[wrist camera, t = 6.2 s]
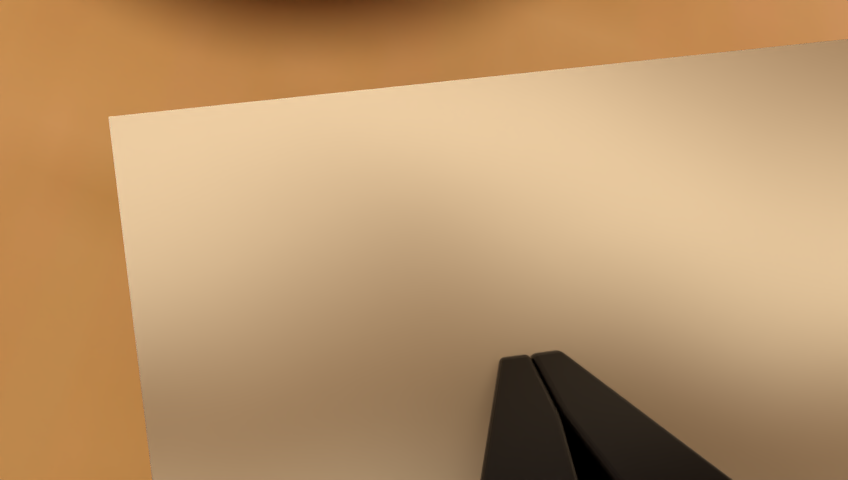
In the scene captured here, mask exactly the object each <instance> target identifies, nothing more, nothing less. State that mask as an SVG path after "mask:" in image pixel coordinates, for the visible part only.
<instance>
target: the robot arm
mask: <svg viewBox="0 0 848 480" xmlns="http://www.w3.org/2000/svg"><path fill="white" fill-rule="evenodd" d="M480 480H733V479H731V478H730V477H729V476H727V475H726V474H725V473H723V472H722V471H721V470H719V469H718V468H717V467H715V466H714V465H713V464H711V463H710V462H709V461H707V460H706V459H705V458H703V457H702V456H701V455H699V454H698V453H697V452H695V451H694V450H693V449H691V448H690V447H689V446H687V445H686V444H685V443H683V442H682V441H681V440H679V439H678V438H677V437H675V436H674V435H673V434H671V433H670V432H669V431H667V430H666V429H665V428H663V427H662V426H661V425H659V424H658V423H657V422H655V421H654V420H653V419H651V418H650V417H649V416H647V415H646V414H645V413H643V412H642V411H641V410H639V409H638V408H637V407H635V406H634V405H633V404H631V403H630V402H629V401H627V400H626V399H625V398H623V397H622V396H621V395H619V394H618V393H617V392H615V391H614V390H613V389H611V388H610V387H609V386H607V385H606V384H605V383H603V382H602V381H601V380H599V379H598V378H597V377H595V376H594V375H593V374H591V373H590V372H589V371H587V370H586V369H585V368H583V367H582V366H581V365H579V364H578V363H577V362H575V361H574V360H573V359H571V358H570V357H569V356H567V355H566V354H565V353H563V352H561V351H559V350H554V351H546V352H538V353H533V354H532V355H531V357H530V356H528V355H526V354H523V355H515V356H508V357H502V358H501V359H500V360H499V365H498V371H497V377H496V384H495V390H494V396H493V402H492V409H491V415H490V421H489V428H488V434H487V440H486V447H485V453H484V459H483V466H482V472H481V478H480Z"/></svg>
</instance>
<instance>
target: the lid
mask: <svg viewBox="0 0 848 480" xmlns="http://www.w3.org/2000/svg"><path fill="white" fill-rule="evenodd" d="M109 125H110V133H111V141H112V150H113V158H114V166H115V175H116V183H117V191H118V199H119V208H120V216H121V224H122V232H123V241H124V249H125V257H126V266H127V274H128V282H129V290H130V299H131V307H132V315H133V324H134V332H135V340H136V348H137V357H138V365H139V373H140V382H141V390H142V398H143V406H144V415H145V423H146V431H147V439H148V448H149V456H150V464H151V473H152V480H480V478H481V472H482V466H483V459H484V453H485V447H486V440H487V434H488V428H489V421H490V415H491V409H492V402H493V396H494V390H495V384H496V377H497V371H498V365H499V360H500V359H501V358H502V357H508V356H515V355H523V354H526V355H528V356H530V357H531V355H532V354H533V353H538V352H546V351H554V350H559V351H561V352H563V353H565V354H566V355H567V356H569V357H570V358H571V359H573V360H574V361H575V362H577V363H578V364H579V365H581V366H582V367H583V368H585V369H586V370H587V371H589V372H590V373H591V374H593V375H594V376H595V377H597V378H598V379H599V380H601V381H602V382H603V383H605V384H606V385H607V386H609V387H610V388H611V389H613V390H614V391H615V392H617V393H618V394H619V395H621V396H622V397H623V398H625V399H626V400H627V401H629V402H630V403H631V404H633V405H634V406H635V407H637V408H638V409H639V410H641V411H642V412H643V413H645V414H646V415H647V416H649V417H650V418H651V419H653V420H654V421H655V422H657V423H658V424H659V425H661V426H662V427H663V428H665V429H666V430H667V431H669V432H670V433H671V434H673V435H674V436H675V437H677V438H678V439H679V440H681V441H682V442H683V443H685V444H686V445H687V446H689V447H690V448H691V449H693V450H694V451H695V452H697V453H698V454H699V455H701V456H702V457H703V458H705V459H706V460H707V461H709V462H710V463H711V464H713V465H714V466H715V467H717V468H718V469H719V470H721V471H722V472H723V473H725V474H726V475H727V476H729V477H730V478H731V479H733V480H848V39H844V40H834V41H825V42H815V43H806V44H796V45H787V46H777V47H768V48H758V49H749V50H739V51H730V52H720V53H711V54H701V55H692V56H682V57H673V58H663V59H654V60H644V61H635V62H625V63H616V64H606V65H597V66H587V67H578V68H568V69H559V70H549V71H540V72H530V73H521V74H511V75H501V76H492V77H482V78H473V79H463V80H454V81H444V82H435V83H425V84H416V85H406V86H397V87H387V88H378V89H368V90H359V91H349V92H340V93H330V94H321V95H311V96H302V97H292V98H283V99H273V100H264V101H254V102H245V103H235V104H226V105H216V106H207V107H197V108H187V109H178V110H168V111H159V112H149V113H140V114H130V115H121V116H111V117H109Z"/></svg>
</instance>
